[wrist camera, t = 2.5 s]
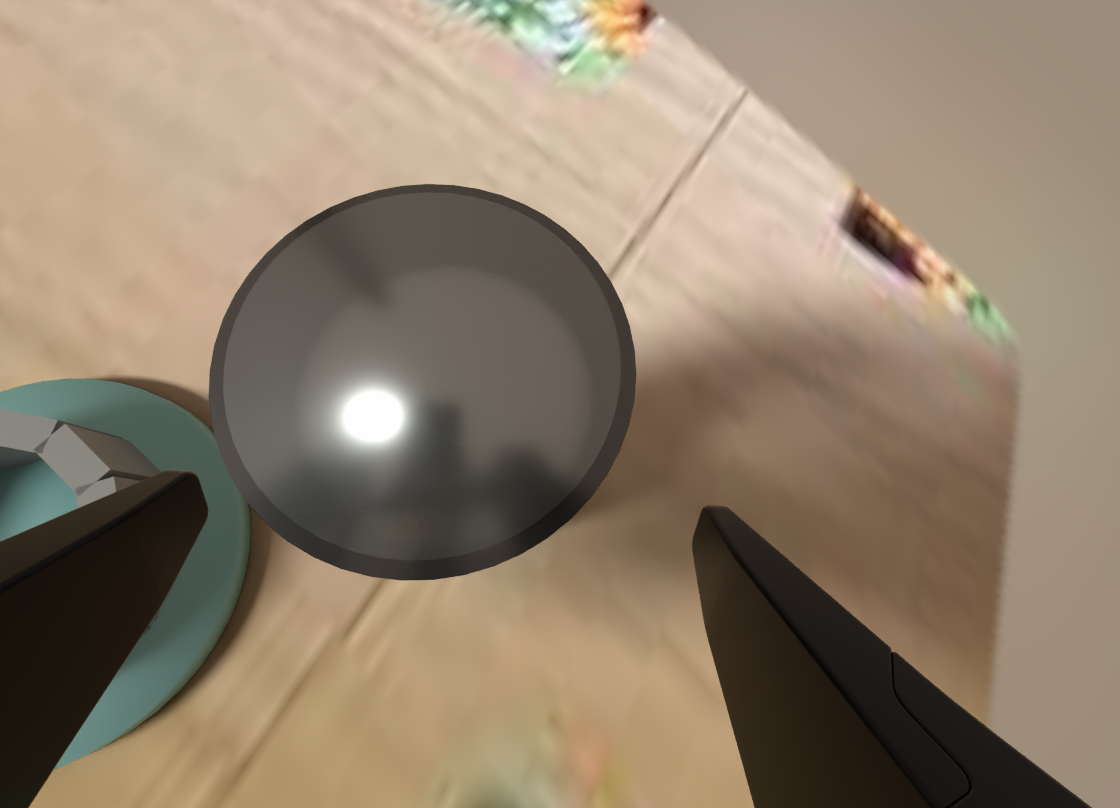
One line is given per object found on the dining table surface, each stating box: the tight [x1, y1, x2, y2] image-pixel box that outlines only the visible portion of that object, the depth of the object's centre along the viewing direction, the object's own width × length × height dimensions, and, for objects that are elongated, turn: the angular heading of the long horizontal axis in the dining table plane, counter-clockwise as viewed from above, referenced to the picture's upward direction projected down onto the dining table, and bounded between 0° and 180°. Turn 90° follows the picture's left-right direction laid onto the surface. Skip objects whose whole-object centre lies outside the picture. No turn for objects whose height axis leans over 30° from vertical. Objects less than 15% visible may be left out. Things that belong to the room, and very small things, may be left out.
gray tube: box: [209, 184, 636, 580], centre depth 12 cm, size 5×5×13 cm
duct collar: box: [0, 379, 251, 769], centre depth 15 cm, size 12×12×3 cm
